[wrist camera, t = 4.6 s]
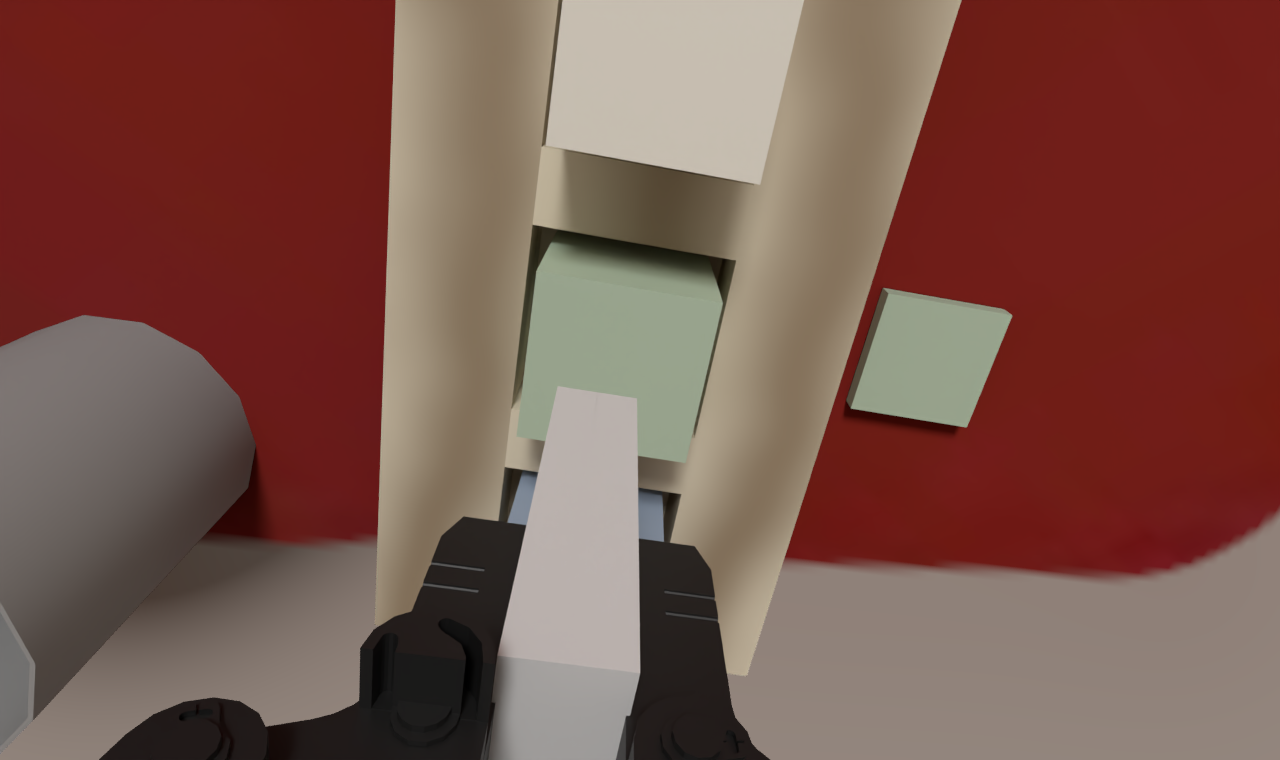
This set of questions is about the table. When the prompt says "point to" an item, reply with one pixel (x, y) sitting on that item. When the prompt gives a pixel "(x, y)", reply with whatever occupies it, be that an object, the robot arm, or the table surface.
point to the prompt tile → (927, 357)
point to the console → (643, 214)
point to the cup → (101, 489)
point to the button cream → (673, 81)
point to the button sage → (622, 335)
